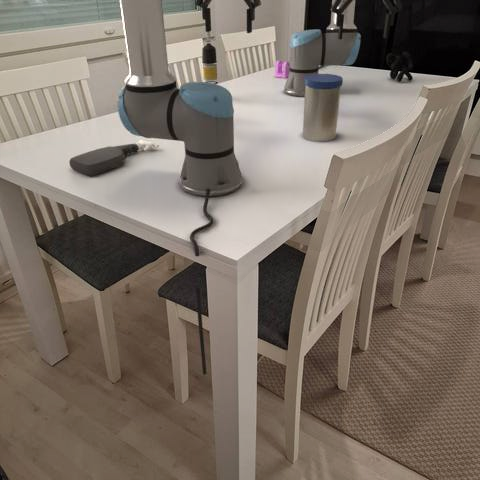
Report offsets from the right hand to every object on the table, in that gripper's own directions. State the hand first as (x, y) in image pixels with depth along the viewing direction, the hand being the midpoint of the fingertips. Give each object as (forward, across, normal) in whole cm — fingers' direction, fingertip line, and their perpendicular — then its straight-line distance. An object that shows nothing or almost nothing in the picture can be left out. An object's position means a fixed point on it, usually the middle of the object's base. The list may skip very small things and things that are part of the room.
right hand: (362, 38), depth 134 cm
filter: (+27, -50, +35) cm, 66 cm away
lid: (+9, -12, -11) cm, 19 cm away
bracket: (+27, -16, +77) cm, 83 cm away
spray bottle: (+26, -71, -29) cm, 81 cm away
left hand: (-2, -40, +6) cm, 41 cm away
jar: (+26, -12, -11) cm, 31 cm away
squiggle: (+27, +33, +63) cm, 76 cm away
